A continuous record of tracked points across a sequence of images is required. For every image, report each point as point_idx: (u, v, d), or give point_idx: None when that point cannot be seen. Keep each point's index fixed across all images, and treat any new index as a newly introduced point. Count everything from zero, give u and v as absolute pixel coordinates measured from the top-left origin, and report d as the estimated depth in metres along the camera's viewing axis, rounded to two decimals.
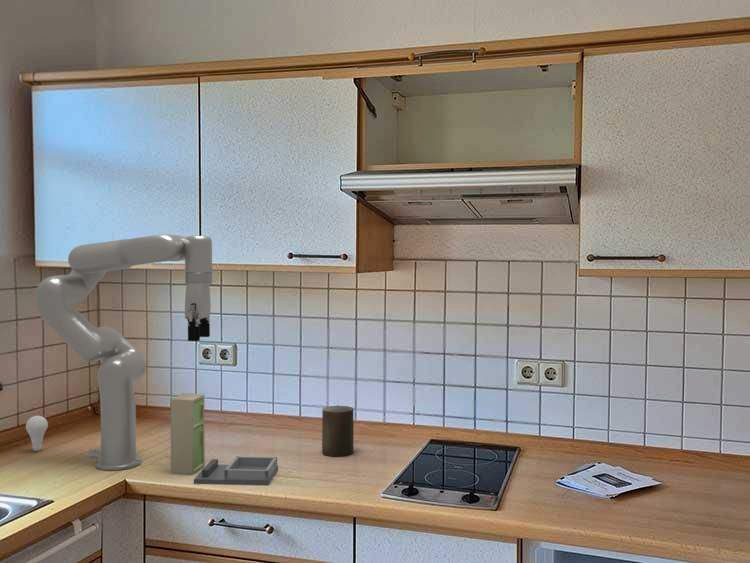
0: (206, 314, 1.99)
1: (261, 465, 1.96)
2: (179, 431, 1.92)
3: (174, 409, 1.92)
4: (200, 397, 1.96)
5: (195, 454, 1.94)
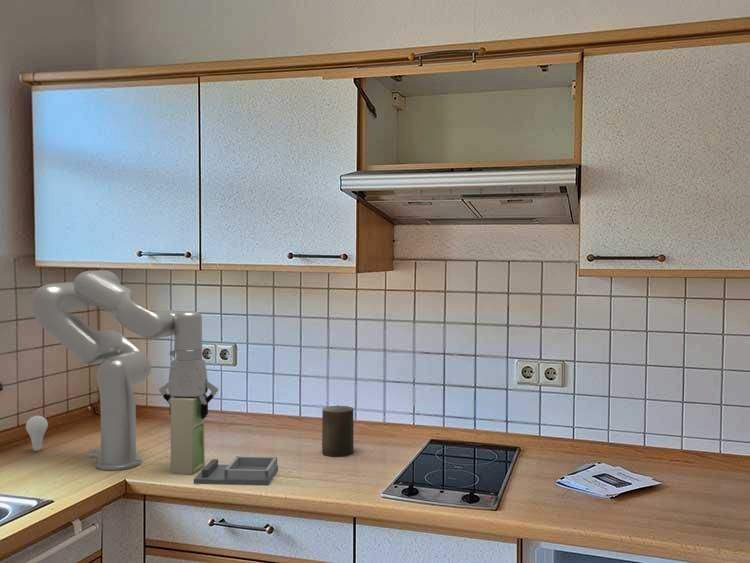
0: None
1: (261, 465, 1.96)
2: (179, 431, 1.92)
3: (174, 409, 1.92)
4: None
5: (195, 453, 1.94)
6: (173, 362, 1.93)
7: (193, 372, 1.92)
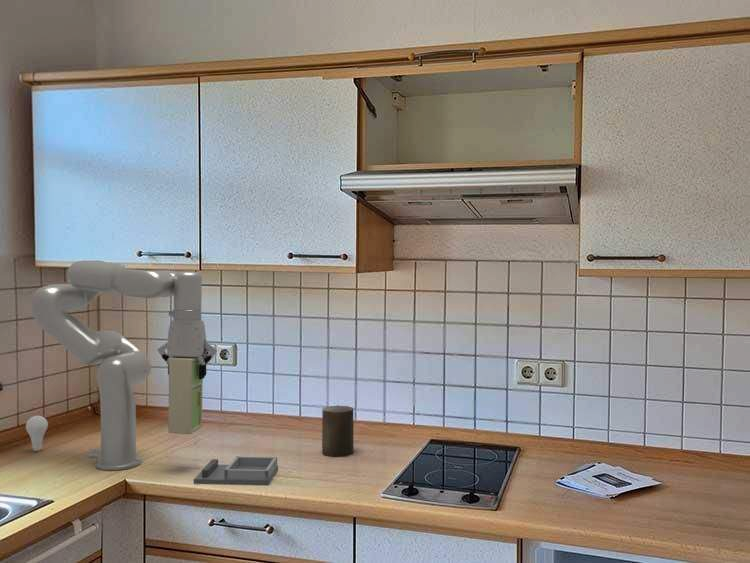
0: None
1: (261, 465, 1.96)
2: (177, 391, 1.92)
3: (173, 369, 1.92)
4: None
5: (192, 414, 1.94)
6: (172, 322, 1.93)
7: (192, 332, 1.92)
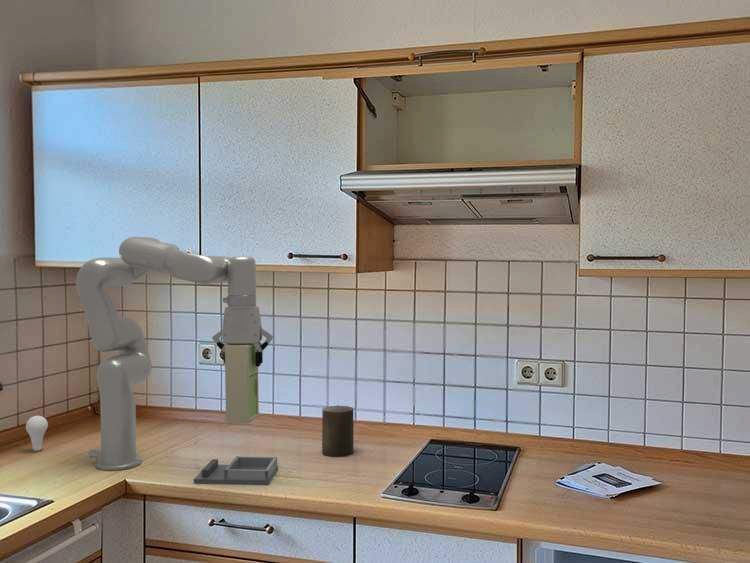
0: None
1: (261, 465, 1.96)
2: (234, 379, 1.86)
3: (229, 356, 1.86)
4: None
5: (250, 402, 1.88)
6: (227, 308, 1.87)
7: (248, 318, 1.87)
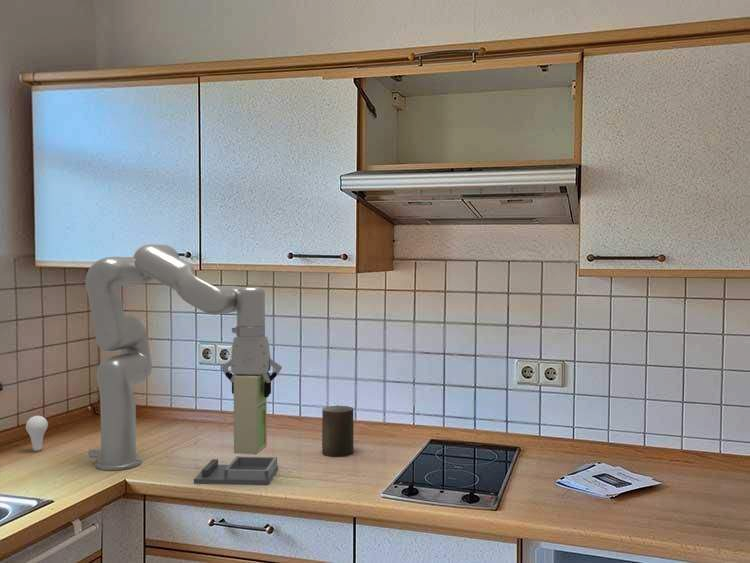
0: None
1: (261, 465, 1.96)
2: (242, 409, 1.86)
3: (238, 387, 1.86)
4: None
5: (258, 433, 1.88)
6: (236, 339, 1.87)
7: (257, 349, 1.86)
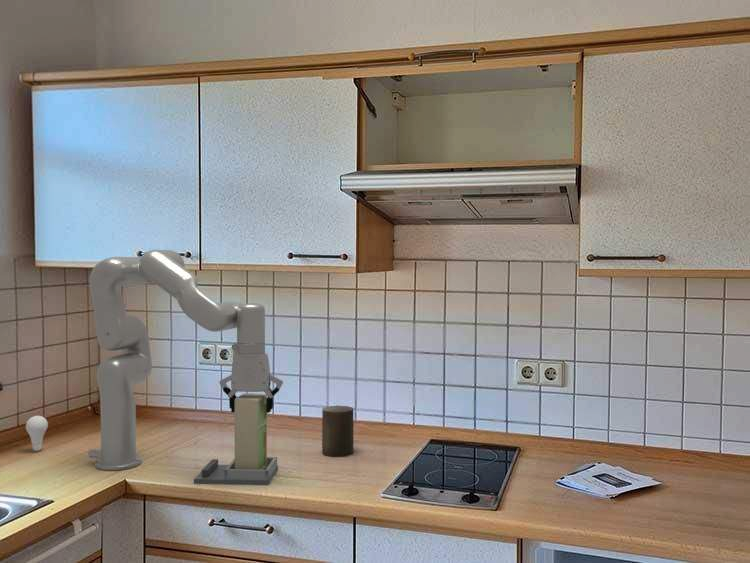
0: None
1: None
2: (243, 432, 1.86)
3: (239, 409, 1.86)
4: (263, 397, 1.90)
5: (259, 455, 1.88)
6: (236, 356, 1.87)
7: (257, 366, 1.86)
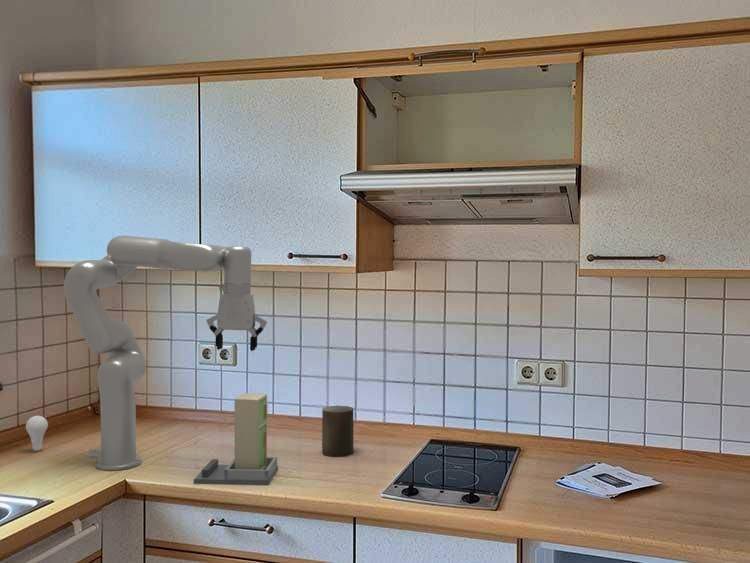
0: None
1: None
2: (243, 432, 1.86)
3: (239, 409, 1.86)
4: (264, 397, 1.90)
5: (259, 455, 1.88)
6: (222, 295, 1.96)
7: (242, 305, 1.95)
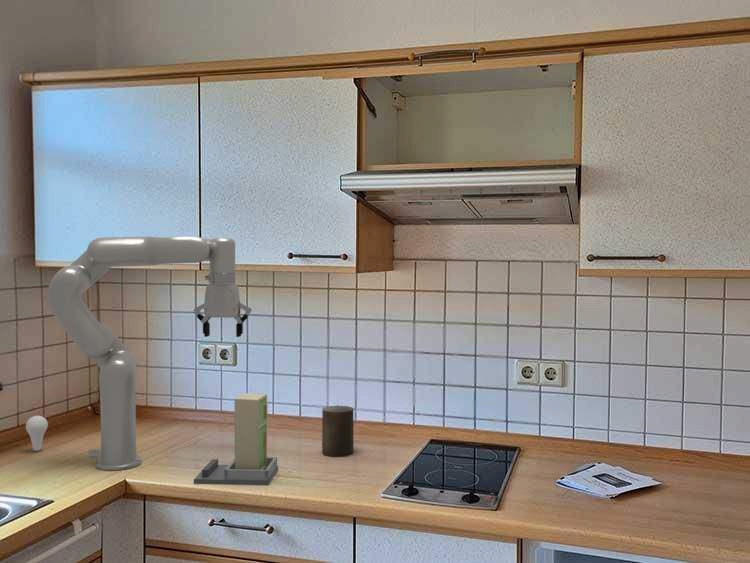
0: None
1: None
2: (243, 432, 1.86)
3: (239, 409, 1.86)
4: (263, 397, 1.90)
5: (259, 455, 1.88)
6: (208, 285, 2.06)
7: (227, 294, 2.05)
